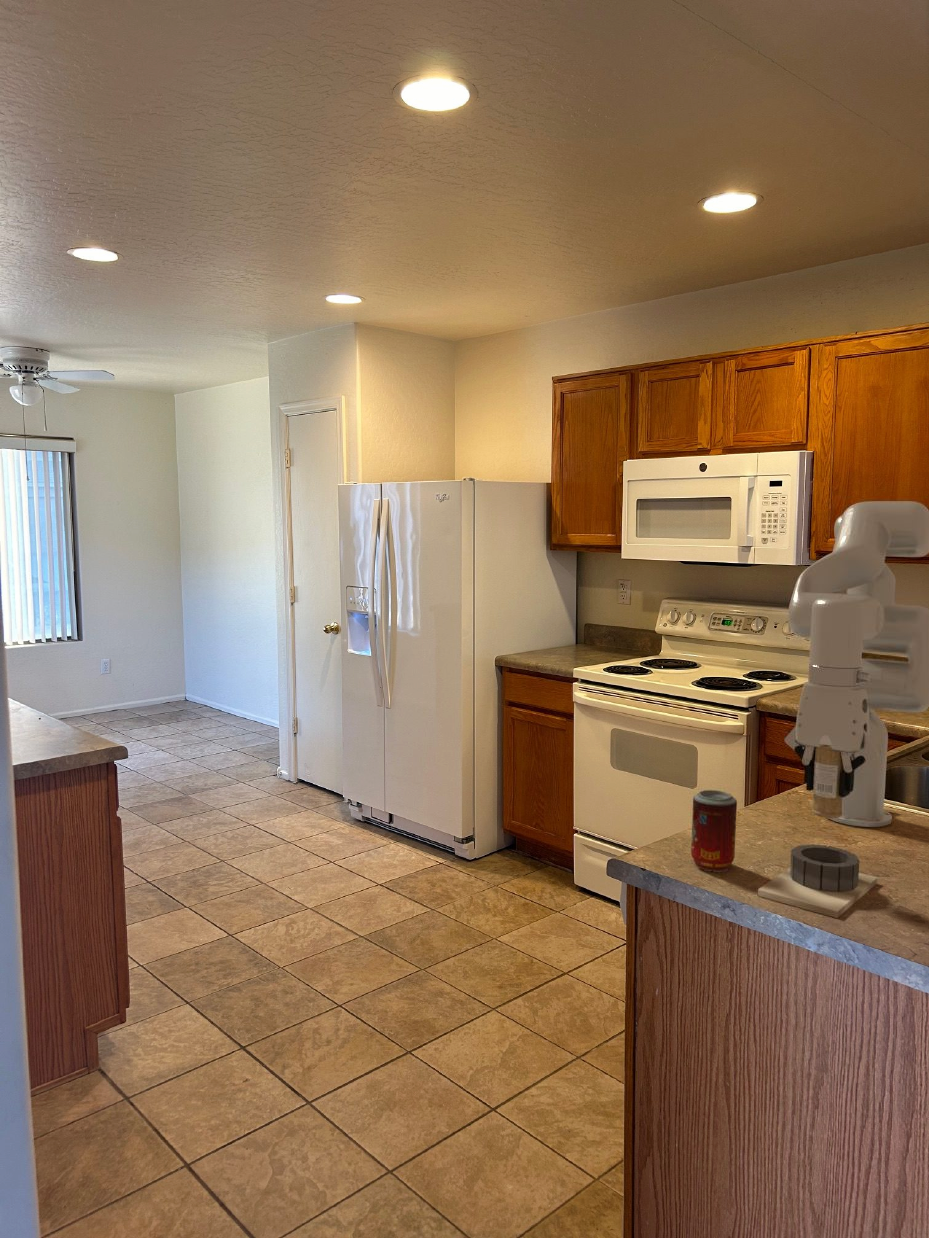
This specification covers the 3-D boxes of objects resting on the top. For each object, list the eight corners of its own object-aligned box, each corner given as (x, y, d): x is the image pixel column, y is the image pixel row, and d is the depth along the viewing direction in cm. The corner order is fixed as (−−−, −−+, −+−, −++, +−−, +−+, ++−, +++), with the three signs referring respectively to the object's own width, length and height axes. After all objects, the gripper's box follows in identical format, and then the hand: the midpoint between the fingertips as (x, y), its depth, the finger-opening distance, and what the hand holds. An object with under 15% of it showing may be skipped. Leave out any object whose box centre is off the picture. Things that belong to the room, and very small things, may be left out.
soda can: (690, 856, 157) (693, 786, 156) (733, 860, 155) (736, 790, 154) (690, 870, 150) (693, 798, 149) (734, 875, 148) (738, 802, 147)
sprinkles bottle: (848, 816, 142) (853, 731, 141) (830, 820, 140) (835, 734, 139) (822, 808, 146) (827, 726, 145) (804, 813, 144) (809, 729, 143)
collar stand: (802, 864, 154) (804, 835, 153) (877, 883, 146) (878, 853, 145) (757, 895, 140) (759, 864, 140) (837, 918, 132) (839, 884, 132)
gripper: (899, 680, 138) (892, 798, 140) (790, 668, 150) (784, 777, 151) (883, 686, 133) (876, 808, 134) (771, 673, 144) (766, 786, 146)
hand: (828, 790), depth 143 cm, fingers closed on sprinkles bottle, 4 cm apart
